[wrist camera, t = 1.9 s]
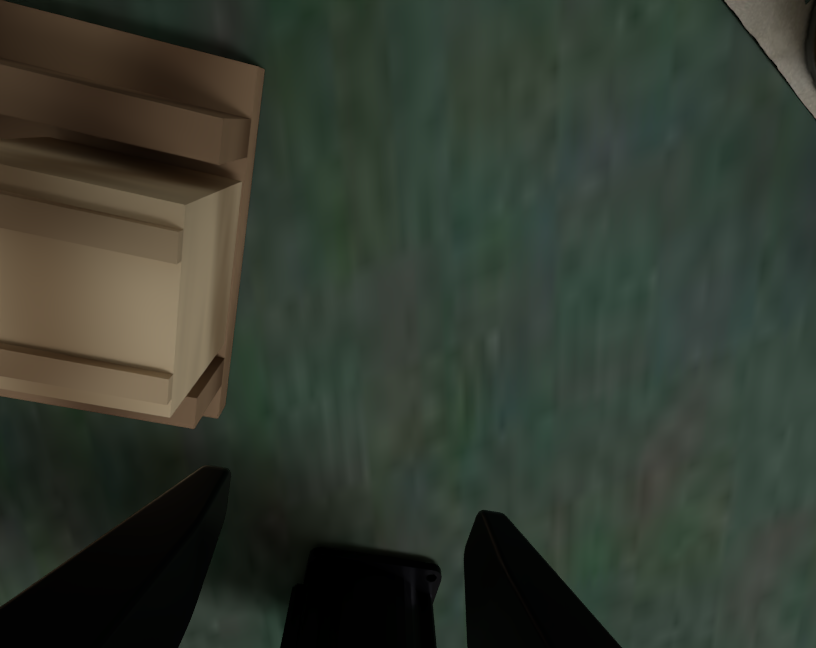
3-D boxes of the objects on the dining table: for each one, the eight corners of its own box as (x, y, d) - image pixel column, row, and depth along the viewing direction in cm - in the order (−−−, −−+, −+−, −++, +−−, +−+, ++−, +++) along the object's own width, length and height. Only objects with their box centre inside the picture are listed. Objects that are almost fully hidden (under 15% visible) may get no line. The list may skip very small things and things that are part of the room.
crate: (242, 181, 17) (180, 206, 12) (224, 343, 19) (165, 423, 14) (49, 136, 16) (-105, 143, 11) (53, 311, 18) (-73, 382, 13)
